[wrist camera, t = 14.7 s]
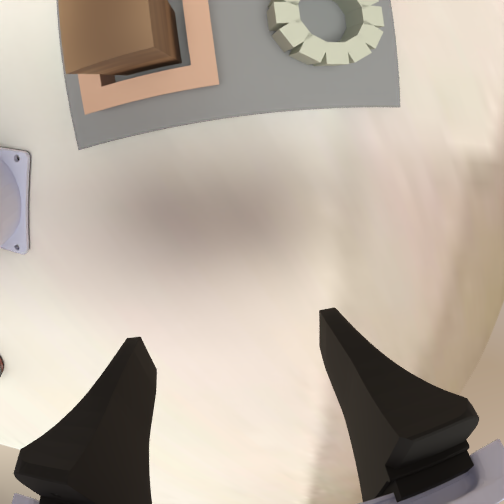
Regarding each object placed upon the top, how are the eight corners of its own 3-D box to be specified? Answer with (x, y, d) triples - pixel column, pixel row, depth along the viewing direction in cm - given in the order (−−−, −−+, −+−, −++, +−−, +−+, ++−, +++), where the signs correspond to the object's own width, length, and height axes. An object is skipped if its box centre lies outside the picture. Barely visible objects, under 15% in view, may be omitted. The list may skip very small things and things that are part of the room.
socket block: (84, 146, 18) (61, 159, 15) (62, -6, 12) (37, -18, 9) (392, 105, 18) (421, 112, 15) (374, -43, 13) (399, -58, 10)
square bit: (127, 75, 15) (66, 74, 8) (120, 26, 14) (58, -4, 7) (181, 62, 15) (154, 46, 8) (174, 12, 14) (144, -34, 7)
